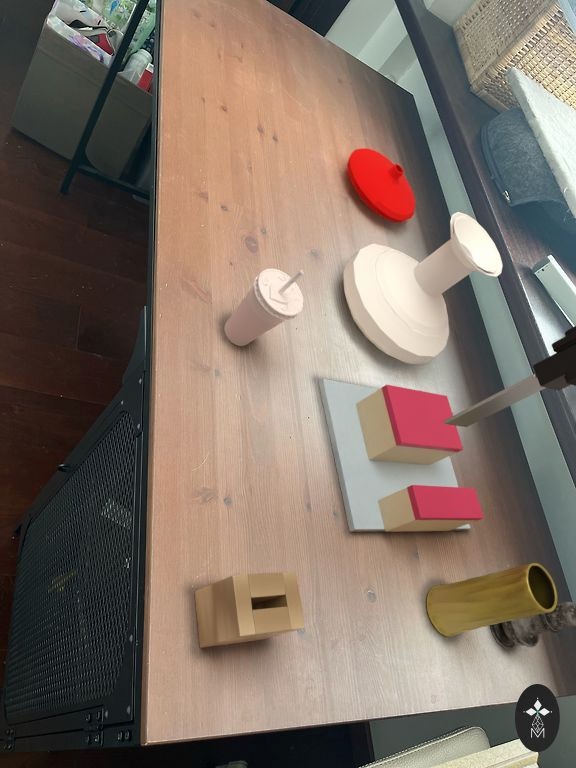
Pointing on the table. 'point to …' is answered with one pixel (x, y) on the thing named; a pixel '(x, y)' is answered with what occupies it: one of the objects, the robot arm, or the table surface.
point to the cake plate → (369, 461)
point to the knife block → (248, 608)
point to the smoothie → (265, 306)
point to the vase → (491, 599)
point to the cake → (407, 426)
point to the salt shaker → (534, 626)
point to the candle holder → (414, 290)
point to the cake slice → (430, 508)
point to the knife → (522, 388)
